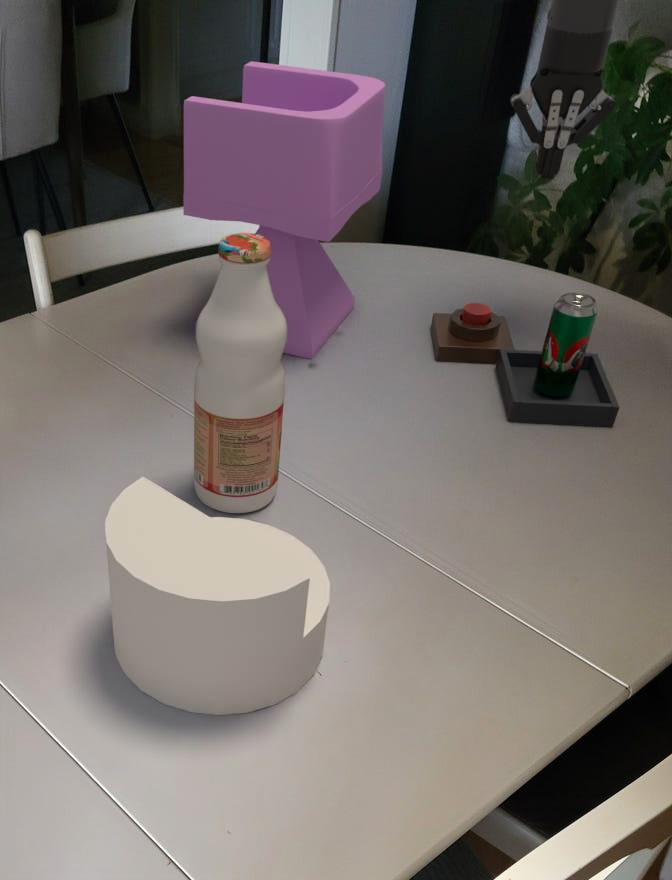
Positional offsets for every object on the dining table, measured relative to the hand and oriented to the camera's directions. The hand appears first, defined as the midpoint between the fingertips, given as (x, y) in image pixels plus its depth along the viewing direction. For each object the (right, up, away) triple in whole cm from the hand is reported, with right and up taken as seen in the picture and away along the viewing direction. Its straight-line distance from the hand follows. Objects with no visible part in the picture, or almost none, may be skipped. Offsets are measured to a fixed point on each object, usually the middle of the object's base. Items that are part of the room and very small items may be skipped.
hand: (545, 176), depth 126 cm
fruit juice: (-41, -44, -16) cm, 62 cm away
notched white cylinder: (-43, -60, -34) cm, 81 cm away
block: (-7, -19, +9) cm, 22 cm away
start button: (-7, -17, +6) cm, 19 cm away
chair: (-34, -14, +14) cm, 39 cm away
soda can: (0, -28, -2) cm, 28 cm away
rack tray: (0, -29, -1) cm, 29 cm away
